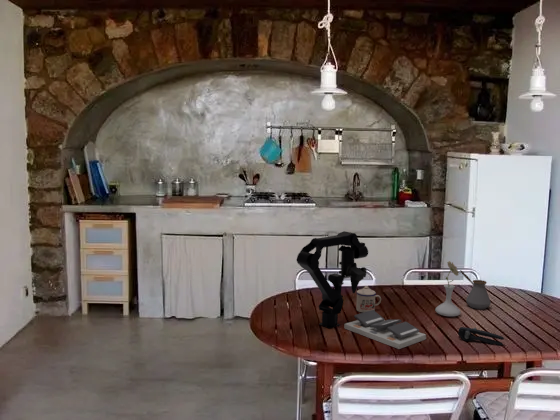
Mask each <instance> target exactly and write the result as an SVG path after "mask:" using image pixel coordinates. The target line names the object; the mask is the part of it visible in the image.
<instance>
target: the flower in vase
mask: <svg viewBox="0 0 560 420" xmlns="http://www.w3.org/2000/svg"><path fill="white" fill-rule="evenodd" d="M447 266H448V268H449V272H448V274H447V276H445V280H446V281H447V284H444V285H443V287H444V289H445V294H446V296H445V300H444V302H442V303H440V304H438V305H437V306H436V307H435V312H436V313H437V314H438V315H441V316H445V317H457V316H459V315H461V313H462V312H461V309H459V307H458V306H456V305H455V303H453V302H452V293H453V290H454V289H455V288H456V286H455V285H453V284H450V283H451V282H454V279H452V280H450V281H449V275H450V274H451V272H452V274H454V275H455V276H456V277H457V276H459V275H460V274H459V272H460V271H459V270H458V269H457V266H456V265H455V264H454V262H452V261H451V260H449V261H447Z"/></svg>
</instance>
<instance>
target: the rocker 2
mask: <svg viewBox="0 0 560 420" xmlns="http://www.w3.org/2000/svg"><path fill="white" fill-rule="evenodd" d="M400 323H402V319H386V320H385V321H382V322H379V323H376V324H372V325H370V328H384V327H387V326H390V325H394V324H396V325H397V324H400Z"/></svg>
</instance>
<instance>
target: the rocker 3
mask: <svg viewBox="0 0 560 420" xmlns="http://www.w3.org/2000/svg"><path fill="white" fill-rule="evenodd" d="M387 330H389V331H390V332H391V333H393V334H394V335H396V336H397V337H399V338H403V337H406V336H409V335H412V334H415V333H418V332H420V329H419V328H417V327H416V326H414V325H412V324H410V323H409V322H408V321H404V322H403V321H402V322H400V323H397V324H396V325H393V326H390V327H388V328H387Z"/></svg>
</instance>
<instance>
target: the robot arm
mask: <svg viewBox="0 0 560 420" xmlns="http://www.w3.org/2000/svg"><path fill="white" fill-rule="evenodd" d="M337 246H340V247H338V249H337V250H338V251H339V252H341V256H340V257H341V258H340V259H341V260H340V261H339V262H338V264H339V265H340V270H339V271H338V273H335V272H334V273H331V274H329V275H327V276H328V277H327V278H326V277H325V275H324V273H323V271H322V270H321V269H320V259H321V256H322V252H323V249H324V248H329V247H337ZM314 249H315V250H314ZM313 250H314V251H315V252H314V253H312V251H313ZM368 255H369V250H368V247H367V246H366V243H365V242H361V241H360V240H359V238H358V235H357V233H356V232H355V233H354V232H351V231H345V230H344V231H341V232H339V233H337V235H331V236H330V235H329V236H324V237H314V238H312V239H311V240H310V241H309V243H307V244H306V245H304V246H303V247H302V248H301V249H300V251H299V253H298V254H297V256H296V262H297V264H298V266H300V267H301V268H302V269H304V270H305V271H306V272H308V273H309V275H310V277H311V278H312V280H313V282H314V283H315V285H316V286H317V288H318V289H319V291H320V293H321V299H322V300H321V302H320V303H319V305H318V309H319V311H322V313H321V322H320V323H319V325H320V326H322V327H325V328H327V329H333V328H336V327H340V324H339V323H338V320H339V314H341V313H342V309H343V304H344V298H343V297H344V295H343V294H342V286H343V285H344V280H345V279H350V285H351V286H350V287H351V292H352V294H355V293H356V292H357V289H358V286H359V284H360V282H361V281H362V280H364V278H367V272H368V271H367V268H366V267H365V266H363V267H361V268H360V267H357V266H358V265H357V263H356V262H355V260H357V259H358V260H359V259H363V258H366V257H368ZM329 282H330V283H331V284H332V286H333V287H332V286H331V284H330V283H329Z"/></svg>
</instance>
